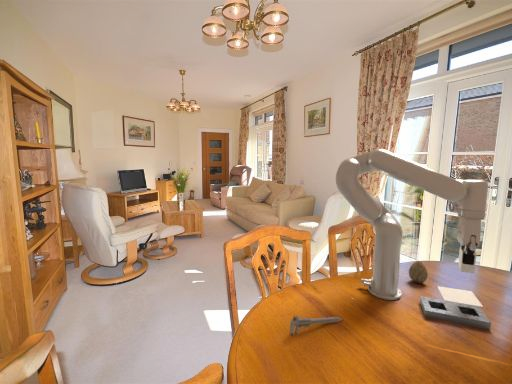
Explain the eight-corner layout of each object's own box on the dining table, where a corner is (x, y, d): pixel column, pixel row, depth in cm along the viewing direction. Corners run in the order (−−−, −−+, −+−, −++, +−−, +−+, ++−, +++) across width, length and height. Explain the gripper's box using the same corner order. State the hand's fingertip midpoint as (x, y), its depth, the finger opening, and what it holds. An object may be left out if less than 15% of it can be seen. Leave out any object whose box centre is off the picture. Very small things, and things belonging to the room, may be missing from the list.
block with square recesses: (424, 318, 91) (425, 310, 91) (419, 303, 100) (420, 296, 100) (489, 331, 84) (491, 322, 84) (478, 314, 93) (479, 306, 93)
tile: (444, 301, 101) (444, 300, 101) (436, 287, 112) (437, 286, 112) (483, 308, 97) (483, 306, 97) (471, 292, 108) (471, 291, 107)
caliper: (291, 336, 83) (291, 318, 82) (289, 334, 84) (289, 316, 83) (342, 321, 91) (343, 304, 90) (340, 319, 92) (341, 302, 91)
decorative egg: (430, 286, 113) (432, 264, 112) (414, 286, 113) (415, 264, 112) (420, 278, 120) (421, 257, 119) (404, 278, 120) (406, 258, 119)
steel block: (460, 271, 96) (462, 250, 95) (458, 267, 100) (459, 247, 99) (474, 273, 95) (476, 252, 94) (471, 269, 98) (473, 248, 97)
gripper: (453, 208, 103) (449, 252, 106) (464, 217, 89) (459, 268, 91) (477, 210, 100) (472, 255, 103) (492, 219, 85) (486, 272, 88)
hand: (466, 261), depth 97 cm, fingers closed on steel block, 4 cm apart
